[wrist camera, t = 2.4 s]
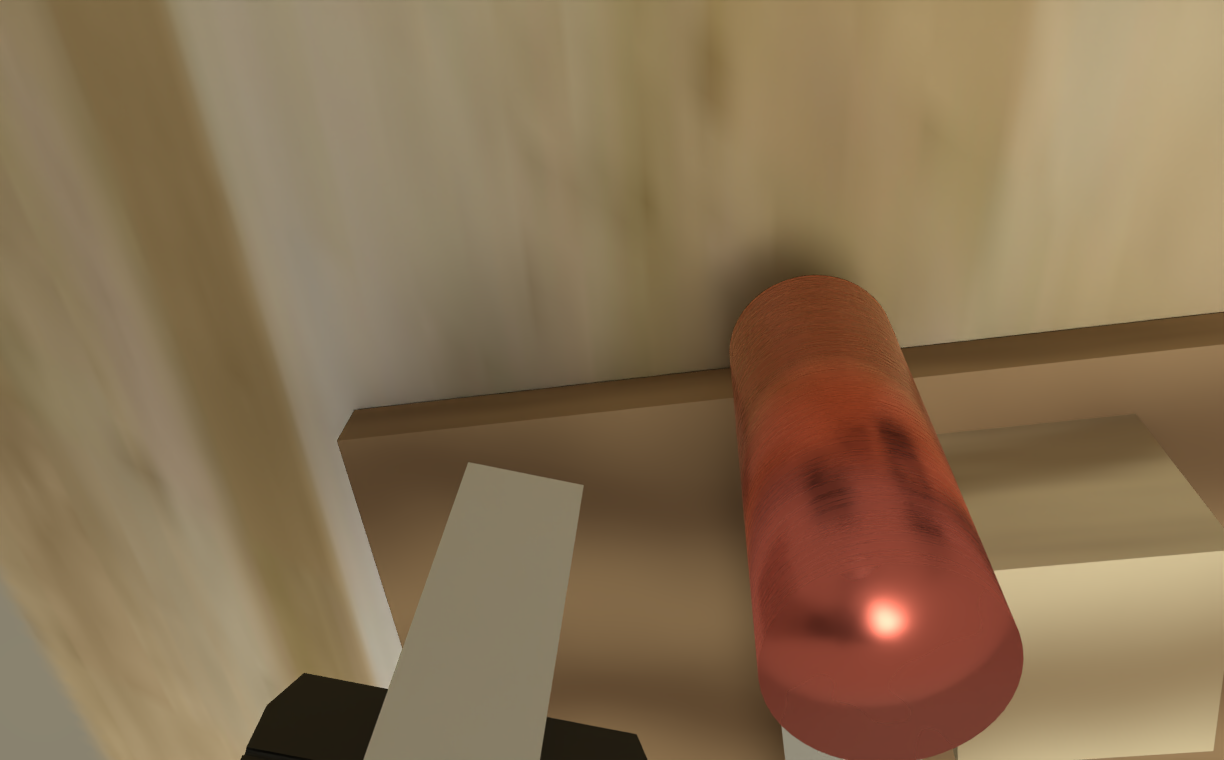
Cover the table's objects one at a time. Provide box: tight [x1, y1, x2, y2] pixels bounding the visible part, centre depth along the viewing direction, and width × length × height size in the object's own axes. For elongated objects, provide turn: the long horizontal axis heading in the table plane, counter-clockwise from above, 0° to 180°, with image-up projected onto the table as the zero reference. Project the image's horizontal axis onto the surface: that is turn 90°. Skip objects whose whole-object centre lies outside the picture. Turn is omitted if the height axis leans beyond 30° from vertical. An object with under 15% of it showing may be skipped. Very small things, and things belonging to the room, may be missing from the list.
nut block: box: [937, 414, 1224, 760], centre depth 23 cm, size 5×5×5 cm
